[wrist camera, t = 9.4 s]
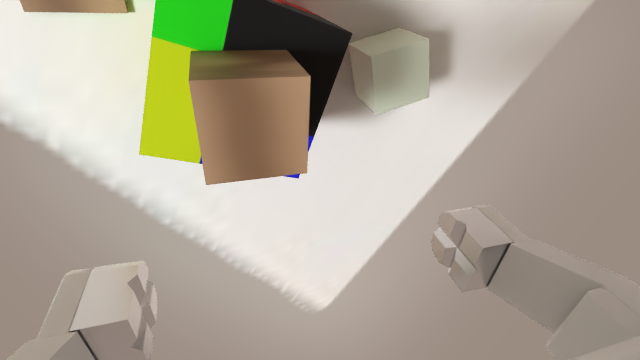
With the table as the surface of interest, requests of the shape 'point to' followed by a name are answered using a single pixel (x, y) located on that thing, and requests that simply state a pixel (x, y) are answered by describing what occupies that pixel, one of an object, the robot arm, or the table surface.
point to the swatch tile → (75, 6)
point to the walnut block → (250, 113)
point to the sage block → (390, 69)
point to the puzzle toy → (228, 34)
